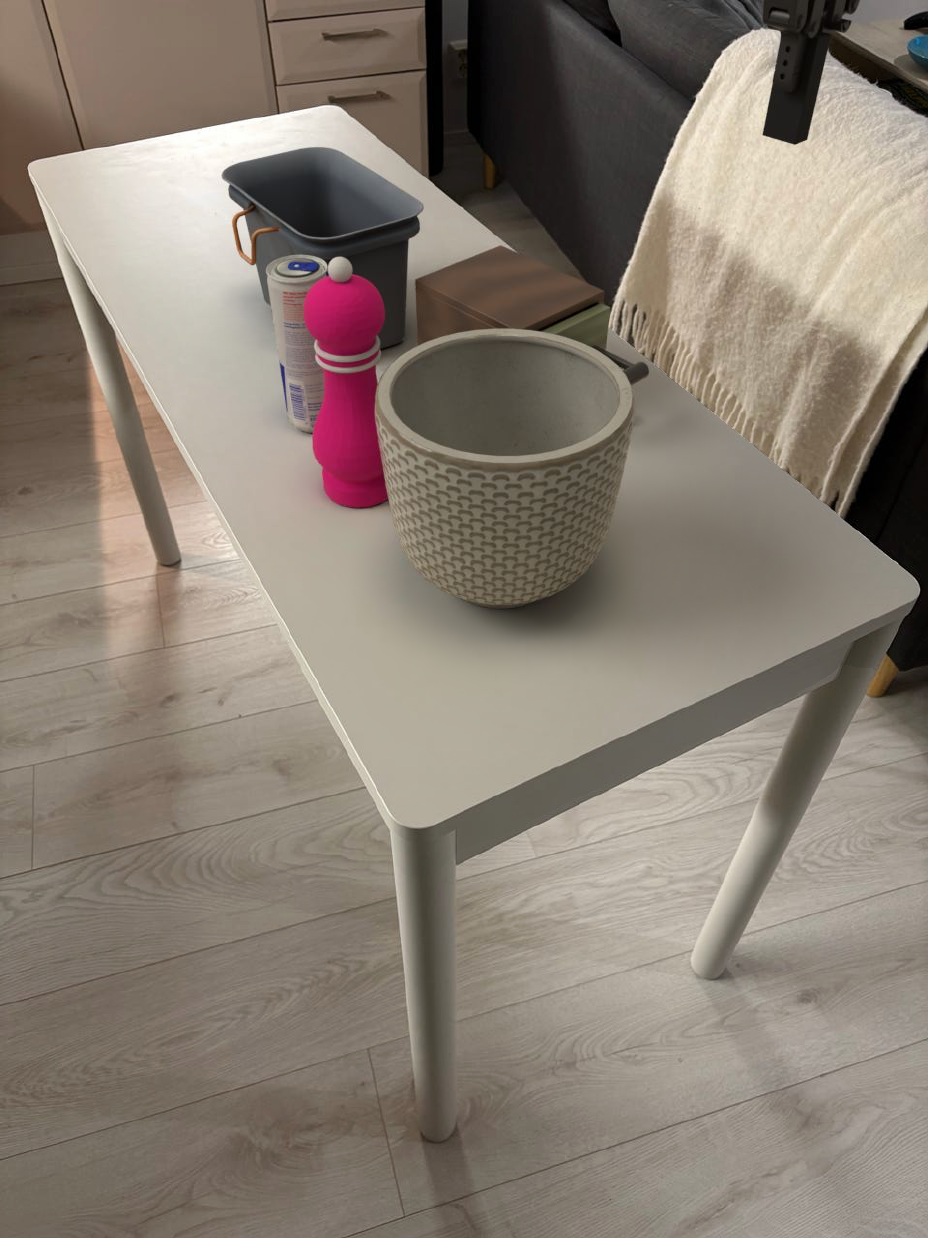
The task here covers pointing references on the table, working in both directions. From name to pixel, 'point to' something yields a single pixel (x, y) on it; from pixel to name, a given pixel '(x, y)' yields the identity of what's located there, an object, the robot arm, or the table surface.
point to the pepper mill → (347, 384)
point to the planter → (503, 460)
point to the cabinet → (497, 295)
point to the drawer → (596, 337)
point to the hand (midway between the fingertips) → (784, 136)
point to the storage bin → (328, 220)
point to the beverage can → (296, 336)
